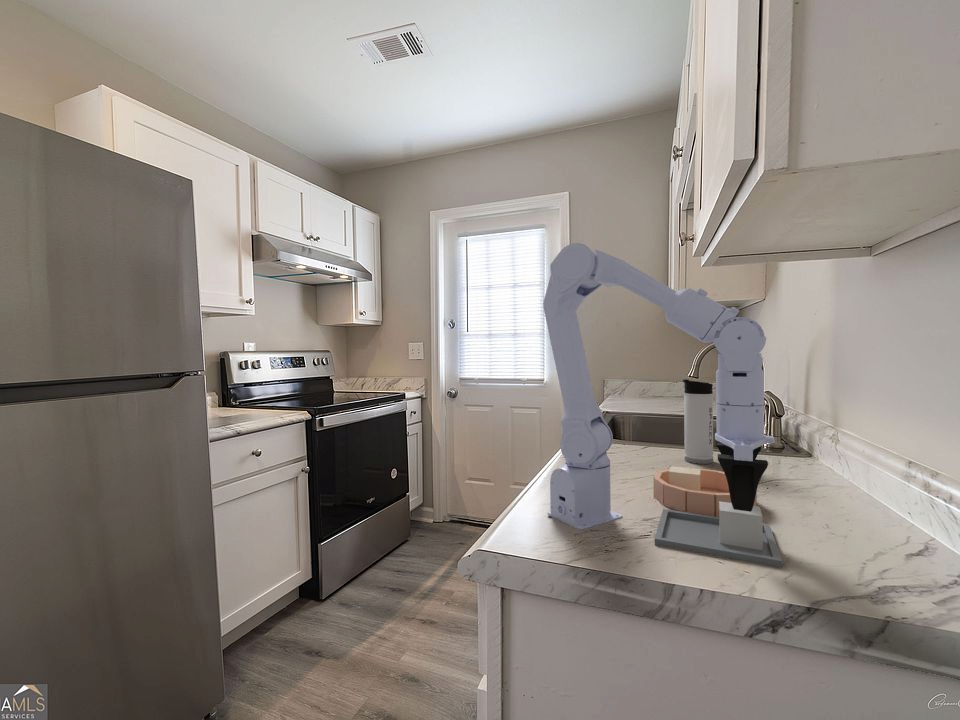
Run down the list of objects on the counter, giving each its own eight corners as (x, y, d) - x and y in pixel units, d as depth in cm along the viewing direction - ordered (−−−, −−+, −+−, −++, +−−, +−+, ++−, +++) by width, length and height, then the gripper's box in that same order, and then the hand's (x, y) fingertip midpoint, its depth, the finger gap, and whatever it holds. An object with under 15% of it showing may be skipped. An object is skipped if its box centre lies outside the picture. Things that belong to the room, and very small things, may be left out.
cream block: (669, 496, 78) (669, 471, 78) (670, 490, 82) (670, 466, 82) (700, 501, 76) (700, 474, 76) (700, 494, 79) (700, 469, 79)
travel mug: (679, 457, 110) (679, 378, 109) (707, 458, 109) (707, 378, 108) (688, 464, 103) (687, 380, 103) (717, 464, 102) (717, 380, 102)
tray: (781, 570, 53) (781, 561, 53) (654, 547, 60) (654, 538, 60) (769, 532, 64) (769, 524, 64) (663, 516, 71) (663, 508, 71)
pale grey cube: (719, 543, 60) (719, 510, 60) (719, 532, 64) (719, 501, 64) (762, 550, 58) (762, 516, 58) (759, 538, 61) (759, 506, 61)
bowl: (720, 527, 67) (720, 501, 66) (636, 497, 80) (635, 476, 80) (775, 507, 75) (775, 484, 74) (689, 483, 88) (689, 464, 88)
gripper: (781, 411, 52) (782, 524, 52) (767, 399, 65) (768, 489, 65) (715, 409, 55) (716, 514, 56) (714, 397, 68) (715, 483, 68)
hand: (740, 500), depth 61 cm, fingers open, 7 cm apart
